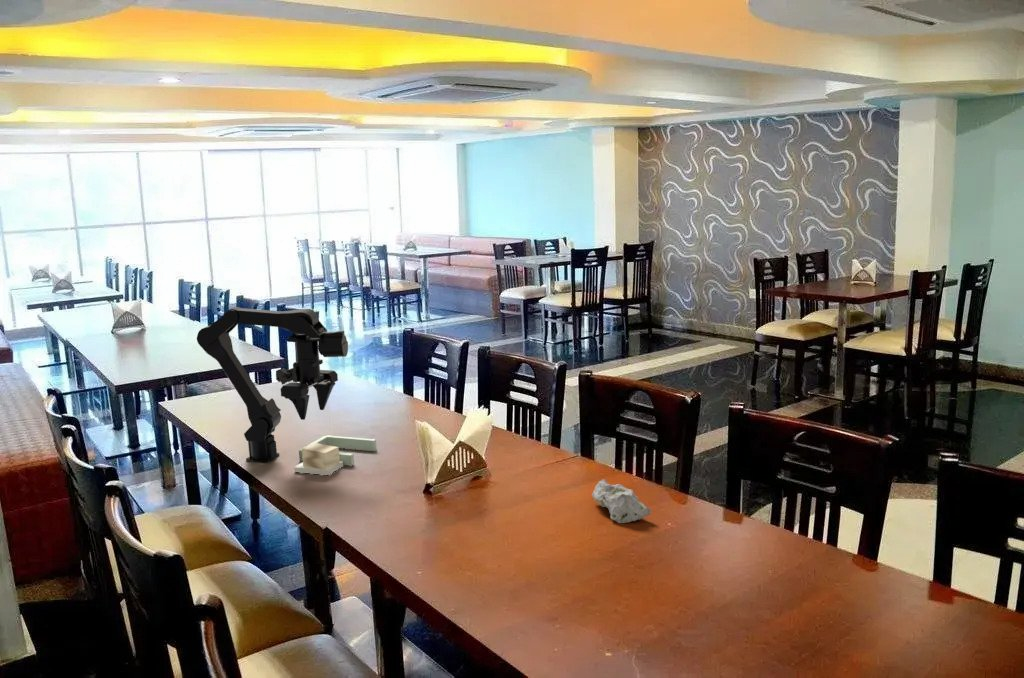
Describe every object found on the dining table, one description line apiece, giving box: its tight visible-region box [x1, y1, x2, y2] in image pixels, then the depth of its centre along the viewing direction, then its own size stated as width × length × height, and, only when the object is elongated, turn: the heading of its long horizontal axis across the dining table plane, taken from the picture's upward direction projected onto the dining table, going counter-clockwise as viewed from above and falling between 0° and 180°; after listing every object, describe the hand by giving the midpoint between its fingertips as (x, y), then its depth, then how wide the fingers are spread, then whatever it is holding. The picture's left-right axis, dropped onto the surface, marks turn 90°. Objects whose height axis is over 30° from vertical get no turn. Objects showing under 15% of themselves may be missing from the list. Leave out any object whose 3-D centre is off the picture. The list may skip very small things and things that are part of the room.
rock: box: [591, 478, 651, 524], centre depth 177 cm, size 16×7×7 cm, turn 31°
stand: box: [293, 461, 344, 476], centre depth 210 cm, size 10×7×2 cm
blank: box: [301, 443, 340, 470], centre depth 209 cm, size 8×5×4 cm, turn 60°
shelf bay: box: [298, 434, 378, 467], centre depth 220 cm, size 16×13×3 cm
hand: (312, 414), depth 217 cm, fingers open, 9 cm apart
